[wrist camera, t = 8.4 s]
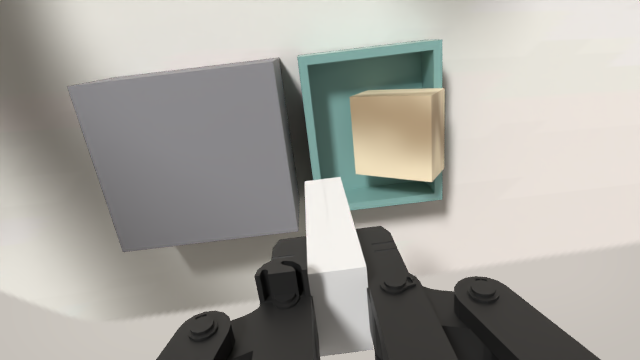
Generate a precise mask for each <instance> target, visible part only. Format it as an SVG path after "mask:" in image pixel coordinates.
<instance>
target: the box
mask: <svg viewBox="0 0 640 360" xmlns="http://www.w3.org/2000/svg"><path fill="white" fill-rule="evenodd" d="M297 58H298V66H299V74H300V81H301V89H302V97H303V105H304V113H305V121H306V128H307V136H308V144H309V152H310V160H311V167H312V175H313V180H319V179H327V178H335V177H341V181H342V184H343V188H344V191H345V195H346V198H347V201H348V205H349V208H350V210H358V209H367V208H375V207H383V206H392V205H400V204H409V203H417V202H426V201H434V200H442V171H441V173H440V174H439V175H438V176H437V177H436V178H435V179H434V180H433V182H425V181H416V180H406V179H397V178H388V177H378V176H369V175H360V174H356V171H355V158H354V146H353V134H352V121H351V109H350V97H351V96H353V95H356V94H359V93H361V92H364V91H367V90H389V89H426V88H442V40H420V41H412V42H404V43H396V44H387V45H379V46H371V47H362V48H354V49H346V50H338V51H329V52H321V53H313V54H305V55H298V57H297Z"/></svg>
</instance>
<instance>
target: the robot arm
mask: <svg viewBox="0 0 640 360" xmlns="http://www.w3.org/2000/svg"><path fill="white" fill-rule="evenodd" d="M305 210H306V236H305V237H297V238H289V239H281V240H279V241H278V243H277V244H276V245H275V246H274V247H273V251H272V259H271V261H270V262H268V263H266V264H264V265H263V266H262V267H261V268H259V269H258V270H257V272H256V274H255V281H256V285H257V290H258V295H259V300H260V307H259V308H258V309H256V310H255V311H253V312H252V313H250V314H247V315H245V316H243V317H240V318H237V319H235V320H232V321H230V318H229V316H227V315H226V314H225V313H223V312H218V311H209V312H203V313H201V314H198V315H195V316H193V317H192V318H190V319H188V320H187V321H185V323H183V324H182V326H181V327H180V328H179V329H178V330H177V332H176V333H175V334H174V336H173V337H172V338H171V340H170V341H169V343H168V344H167V346H166V347H165V348H164V350H163V351H162V352H161V354H160V355H159V357H158V358H157V359H156V360H320V356H326V355H334V354H342V353H350V352H358V351H366V350H373V345H374V349H375V360H600V359H599V358H598V357H596V356H595V355H594V354H593V353H591V352H590V351H589V350H587V349H586V348H585V347H584V346H583V345H581V344H580V343H579V342H577V341H576V340H575V339H574V338H572V337H571V336H570V335H568V334H567V333H566V332H565V331H563V330H562V329H561V328H559V327H558V326H557V325H556V324H554V323H553V322H552V321H551V320H549V319H548V318H547V317H545V316H544V315H543V314H541V313H540V312H539V311H538V310H536V309H535V308H534V307H533V306H531V305H530V304H529V303H528V302H526V301H525V300H524V299H522V298H521V297H520V296H519V295H517V294H516V293H515V292H513V291H512V290H511V289H510V288H508V287H507V286H506V285H504V284H502V283H500V282H499V281H496V280H494V279H490V278H487V277H477V276H475V277H468V278H464V279H462V280H460V281H459V282H458V283H457V284H456V286H455V287H454V292H452V291H441V290H434V289H430V288H426V287H423V286H422V285H421V283H420V281H419V280H418V279H417V278H416V277H415V276H413V275H412V274H410V273H408V270H407V268H406V266H405V264H404V262H403V260H402V257H401V255H400V253H399V251H398V250H397V246H396V244H395V243H394V240H393V238H392V236H391V233H390V232H389V231H387V230H386V229H384V228H383V227H382V226H377V227H369V228H361V229H355V226H354V222H353V219H352V215H351V212H350V208H349V205H348V201H347V198H346V195H345V191H344V188H343V184H342V181H341V177H335V178H327V179H319V180H311V181H305Z"/></svg>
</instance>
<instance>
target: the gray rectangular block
mask: <svg viewBox="0 0 640 360" xmlns="http://www.w3.org/2000/svg"><path fill="white" fill-rule="evenodd" d="M67 88H68V91H69V94H70V97H71V100H72V103H73V106H74V108H75V111H76V114H77V117H78V120H79V123H80V126H81V129H82V132H83V135H84V138H85V141H86V144H87V147H88V150H89V153H90V156H91V159H92V162H93V165H94V168H95V171H96V173H97V176H98V179H99V182H100V185H101V188H102V191H103V194H104V197H105V200H106V203H107V206H108V209H109V212H110V215H111V218H112V221H113V224H114V227H115V230H116V233H117V235H118V238H119V241H120V244H121V247H122V250H123V252H128V251H136V250H145V249H153V248H162V247H170V246H178V245H187V244H195V243H204V242H212V241H221V240H229V239H238V238H246V237H255V236H263V235H271V234H280V233H288V232H297V231H298V224H299V193H298V186H297V179H296V172H295V165H294V158H293V151H292V144H291V137H290V130H289V123H288V116H287V109H286V102H285V95H284V88H283V81H282V75H281V68H280V61H279V58H272V59H263V60H255V61H247V62H238V63H230V64H222V65H214V66H205V67H197V68H189V69H181V70H172V71H164V72H156V73H148V74H139V75H131V76H123V77H114V78H109V79H103V80H98V81H93V82H88V83H82V84H77V85H72V86H67Z"/></svg>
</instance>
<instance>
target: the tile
mask: <svg viewBox="0 0 640 360" xmlns="http://www.w3.org/2000/svg"><path fill="white" fill-rule="evenodd" d="M350 109H351V121H352V134H353V146H354V158H355V171H356V174H360V175H369V176H378V177H388V178H397V179H406V180H416V181H425V182H433V180H434V179H435V178H436V177H437V176H438V175H439V174H440V173H441V171H442V170H443V169H444V128H445V88H426V89H389V90H367V91H364V92H361V93H359V94H356V95H353V96H351V97H350Z"/></svg>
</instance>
